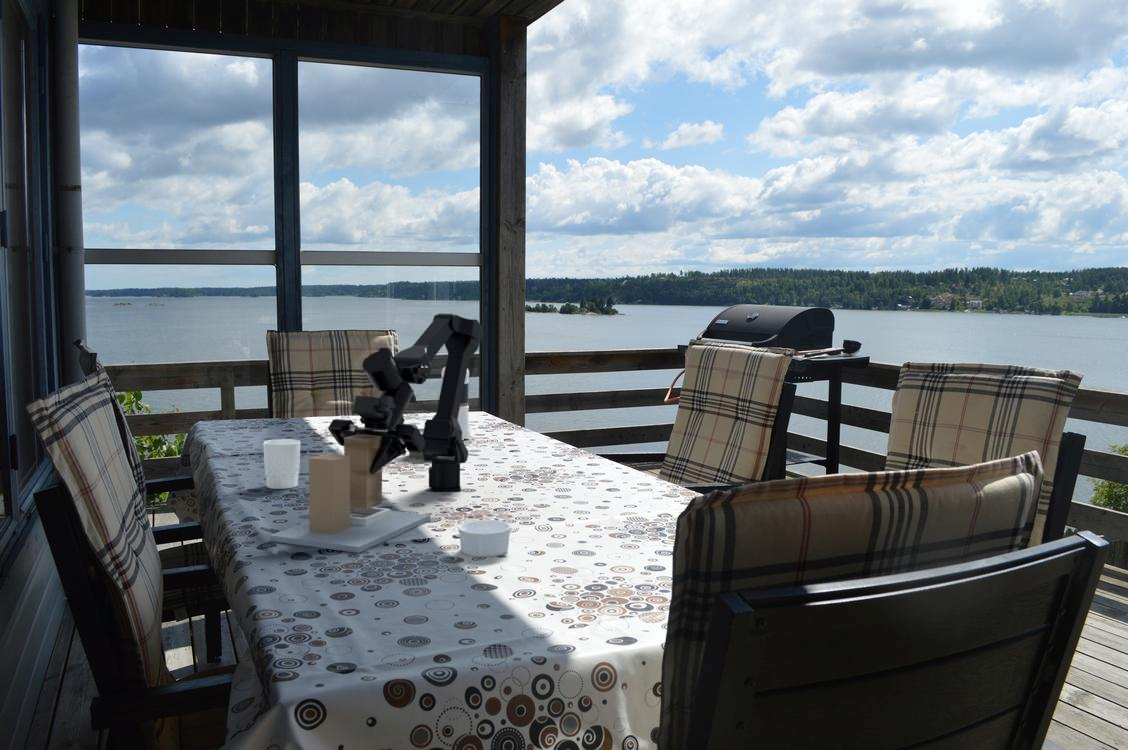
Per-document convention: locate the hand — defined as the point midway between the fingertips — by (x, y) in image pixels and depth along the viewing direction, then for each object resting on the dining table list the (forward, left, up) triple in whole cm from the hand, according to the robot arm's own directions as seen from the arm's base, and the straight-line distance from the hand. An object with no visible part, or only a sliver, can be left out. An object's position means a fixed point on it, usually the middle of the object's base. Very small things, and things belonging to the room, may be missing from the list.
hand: (359, 471), depth 164 cm
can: (-14, -71, -10) cm, 74 cm away
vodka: (-22, -101, -10) cm, 104 cm away
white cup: (+19, -35, -10) cm, 41 cm away
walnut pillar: (-1, -1, -7) cm, 7 cm away
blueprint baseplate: (+1, +5, -10) cm, 11 cm away
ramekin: (-22, +21, -10) cm, 32 cm away
